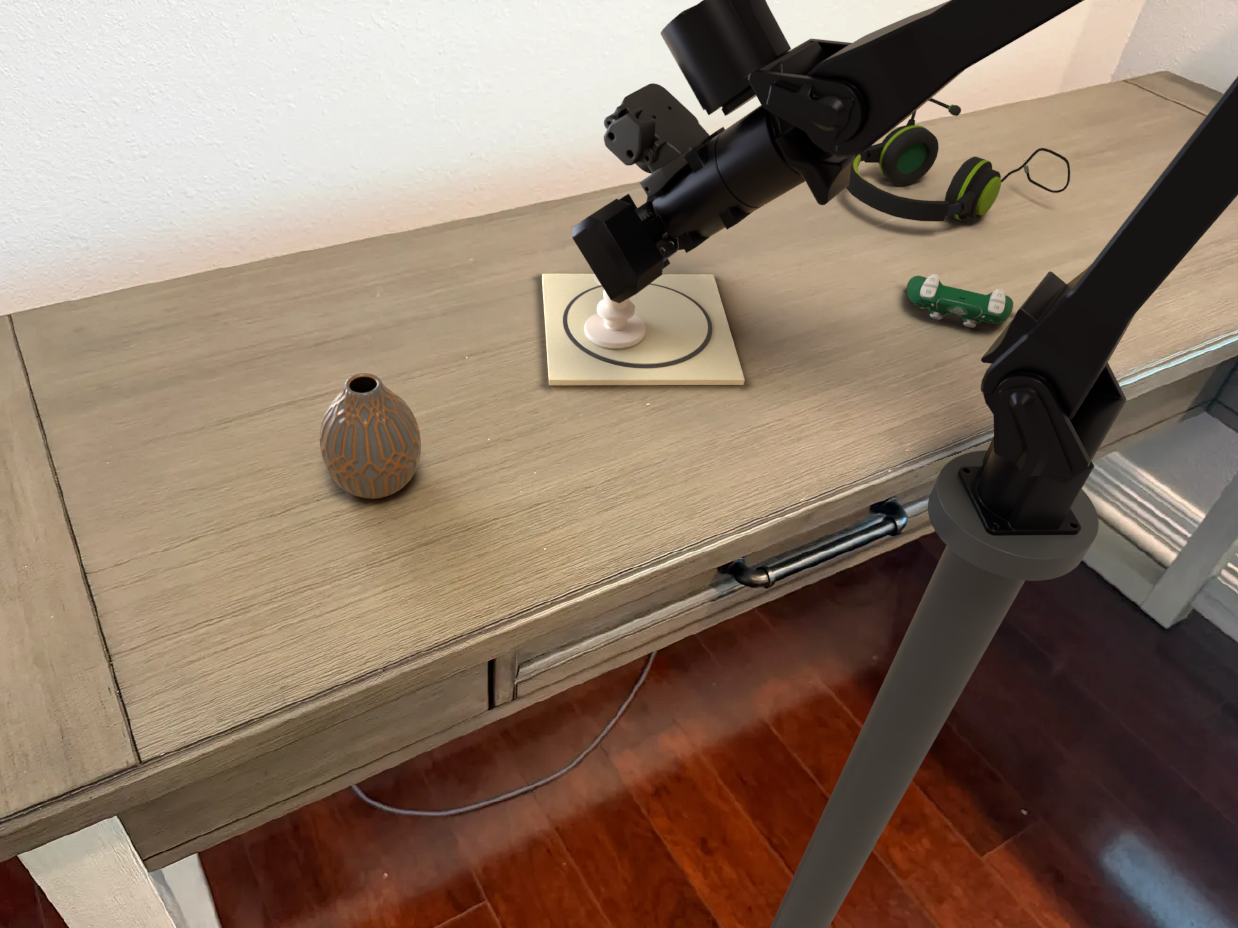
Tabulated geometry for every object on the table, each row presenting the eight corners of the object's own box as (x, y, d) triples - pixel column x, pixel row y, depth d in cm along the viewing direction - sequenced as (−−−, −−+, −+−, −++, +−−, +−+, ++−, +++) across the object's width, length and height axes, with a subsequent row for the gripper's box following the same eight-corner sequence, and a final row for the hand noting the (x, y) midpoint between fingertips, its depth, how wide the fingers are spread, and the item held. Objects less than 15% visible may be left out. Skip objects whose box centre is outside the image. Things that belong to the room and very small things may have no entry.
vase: (310, 472, 71) (291, 375, 65) (392, 436, 74) (382, 340, 68) (356, 527, 67) (341, 430, 61) (442, 487, 70) (435, 391, 64)
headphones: (1095, 125, 96) (953, 167, 88) (1056, 215, 103) (921, 262, 95) (970, 68, 105) (832, 102, 98) (942, 154, 112) (811, 192, 104)
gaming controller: (897, 316, 91) (903, 301, 86) (909, 277, 91) (916, 259, 85) (999, 341, 89) (1012, 327, 83) (1012, 301, 89) (1026, 284, 83)
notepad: (743, 385, 80) (745, 377, 80) (549, 385, 79) (549, 377, 79) (712, 279, 92) (714, 272, 91) (541, 279, 91) (542, 271, 90)
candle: (658, 331, 83) (667, 218, 76) (617, 356, 81) (622, 241, 74) (612, 308, 86) (617, 196, 79) (571, 331, 83) (572, 218, 76)
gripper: (752, 25, 71) (616, 131, 83) (603, 104, 60) (472, 212, 72) (827, 161, 73) (684, 245, 86) (696, 261, 62) (554, 340, 75)
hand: (603, 257), depth 79 cm, fingers closed on candle
